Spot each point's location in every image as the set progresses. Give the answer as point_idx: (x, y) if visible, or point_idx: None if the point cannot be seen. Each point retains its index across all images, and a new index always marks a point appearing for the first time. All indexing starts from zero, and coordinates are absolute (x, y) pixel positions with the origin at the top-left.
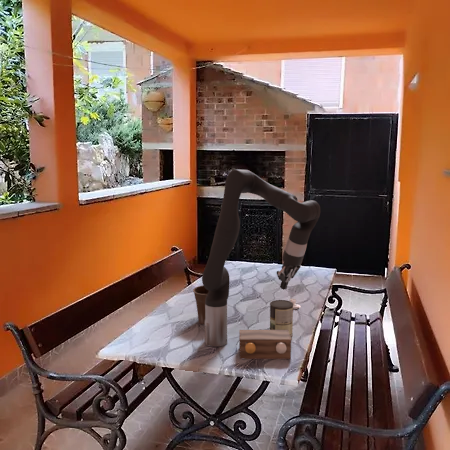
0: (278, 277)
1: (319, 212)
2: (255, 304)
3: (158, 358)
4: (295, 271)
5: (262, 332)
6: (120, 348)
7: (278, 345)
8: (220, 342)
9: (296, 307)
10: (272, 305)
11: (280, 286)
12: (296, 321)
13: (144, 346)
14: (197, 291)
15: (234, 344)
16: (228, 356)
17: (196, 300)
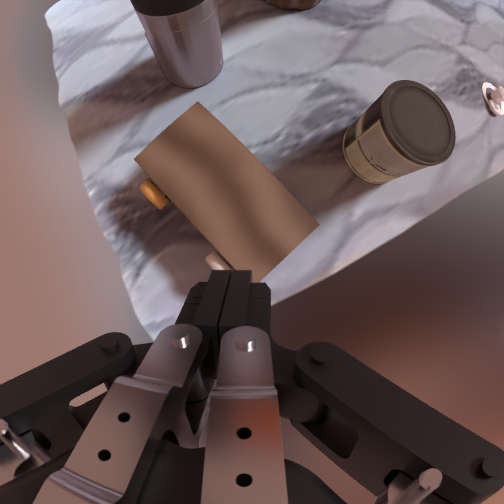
0: (57, 365)
1: None
2: (440, 26)
3: (59, 65)
4: (356, 477)
5: (233, 170)
6: (67, 6)
7: (209, 264)
8: (177, 81)
9: (493, 110)
10: (383, 101)
11: (193, 290)
12: None
13: (90, 12)
14: None
15: (217, 99)
16: (145, 142)
17: None
